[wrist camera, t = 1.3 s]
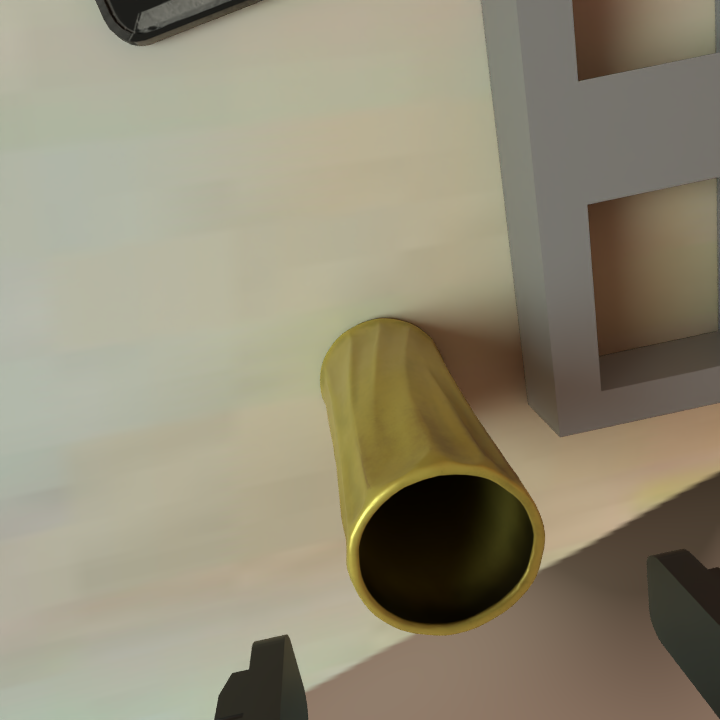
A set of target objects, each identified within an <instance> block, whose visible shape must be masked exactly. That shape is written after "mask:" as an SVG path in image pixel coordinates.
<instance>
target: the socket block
mask: <svg viewBox="0 0 720 720" xmlns="http://www.w3.org/2000/svg"><path fill="white" fill-rule="evenodd" d="M481 4H482V13H483V21H484V30H485V38H486V47H487V56H488V64H489V73H490V81H491V90H492V98H493V107H494V116H495V124H496V133H497V141H498V150H499V158H500V167H501V176H502V184H503V193H504V201H505V210H506V219H507V227H508V236H509V244H510V253H511V261H512V270H513V279H514V287H515V296H516V304H517V313H518V322H519V330H520V339H521V347H522V356H523V364H524V373H525V382H526V390H527V399H528V405H529V406H530V407H531V408H532V409H533V410H534V411H535V412H536V413H537V414H538V415H539V416H540V417H541V418H542V419H543V420H544V421H545V422H546V423H547V424H548V425H549V426H550V427H551V428H552V429H553V430H554V431H555V433H556V434H557V435H558V436H559V437H564V436H568V435H573V434H577V433H582V432H587V431H591V430H596V429H601V428H605V427H610V426H614V425H619V424H624V423H628V422H633V421H638V420H642V419H647V418H651V417H656V416H661V415H665V414H670V413H675V412H679V411H684V410H688V409H693V408H698V407H702V406H707V405H712V404H716V403H720V0H715V12H716V53H714V54H709V55H704V56H699V57H694V58H690V59H685V60H680V61H675V62H670V63H665V64H660V65H655V66H650V67H646V68H641V69H636V70H631V71H626V72H621V73H616V74H611V75H606V76H602V77H597V78H592V79H587V80H582V81H578V74H577V61H576V47H575V34H574V20H573V7H572V0H481ZM713 178H717V233H718V331H716V332H711V333H706V334H702V335H697V336H692V337H688V338H683V339H678V340H674V341H669V342H664V343H660V344H655V345H650V346H646V347H641V348H636V349H632V350H627V351H622V352H618V353H613V354H608V355H604V356H599V355H598V341H597V328H596V314H595V301H594V288H593V274H592V261H591V248H590V234H589V221H588V208H587V205H588V204H593V203H598V202H602V201H607V200H612V199H617V198H622V197H626V196H631V195H636V194H641V193H645V192H650V191H655V190H660V189H665V188H669V187H674V186H679V185H684V184H689V183H693V182H698V181H703V180H708V179H713Z"/></svg>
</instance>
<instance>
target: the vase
mask: <svg viewBox="0 0 720 720" xmlns="http://www.w3.org/2000/svg"><path fill="white" fill-rule="evenodd" d="M320 387H321V393H322V397H323V400H324V402H325V404H326V408H327V415H328V421H329V427H330V432H331V437H332V442H333V447H334V455H335V460H336V465H337V476H338V487H339V497H340V508H341V517H342V523H343V528H344V533H345V537H346V546H347V558H346V564H347V570H348V573H349V576H350V579H351V581H352V583H353V585H354V587H355V589H356V591H357V593H358V595H359V597H360V598H361V600H362V601H363V603H364V604H365V605H366V606H367V608H368V609H369V610H370V611H371V612H372V613H373V614H374V615H375V616H377V617H378V618H379V619H381V620H382V621H384V622H386V623H388V624H389V625H391V626H393V627H395V628H398V629H400V630H403V631H407V632H411V633H416V634H426V635H452V634H457V633H461V632H465V631H468V630H471V629H474V628H477V627H479V626H481V625H483V624H485V623H487V622H489V621H490V620H492V619H494V618H496V617H497V616H499V615H500V614H502V613H503V612H505V611H507V610H508V609H509V608H510V607H512V606H513V605H514V604H515V603H516V602H517V601H518V600H519V599H520V598H521V597H522V595H523V594H525V592H526V591H527V590H528V589H529V587H530V585H531V584H532V583H533V581H534V579H535V578H536V576H537V573H538V570H539V567H540V563H541V559H542V555H543V550H544V544H545V531H544V525H543V522H542V519H541V516H540V513H539V511H538V509H537V507H536V504H535V503H534V501H533V499H532V498H531V496H530V495H529V493H528V492H527V490H526V489H525V487H524V486H523V484H522V483H521V481H520V479H519V477H518V476H517V474H516V473H515V472H514V470H513V469H512V468H511V466H510V465H509V464H508V462H507V461H506V459H505V458H504V456H503V455H502V453H501V452H500V450H499V449H498V447H497V446H496V444H495V443H494V442H493V440H492V439H491V437H490V436H489V434H488V433H487V432H486V430H485V428H484V427H483V426H482V424H481V423H480V421H479V420H478V418H477V417H476V415H475V414H474V412H473V411H472V409H471V408H470V406H469V404H468V403H467V401H466V400H465V398H464V396H463V395H462V393H461V391H460V390H459V388H458V386H457V385H456V383H455V381H454V380H453V378H452V376H451V375H450V373H449V371H448V369H447V368H446V366H445V364H444V361H443V359H442V356H441V354H440V353H439V351H438V349H437V347H436V345H435V343H434V342H433V340H432V338H431V337H429V336H428V335H427V334H426V333H425V332H423V331H422V330H421V329H419V328H418V327H416V326H414V325H413V324H411V323H408V322H405V321H401V320H396V319H389V318H379V319H373V320H369V321H366V322H363V323H361V324H358V325H356V326H355V327H353V328H351V329H349V330H347V331H346V332H344V333H343V334H342V335H341V336H340V337H339V338H338V339H337V340H336V341H335V342H334V343H333V345H332V346H331V348H330V349H329V351H328V352H327V354H326V356H325V358H324V360H323V364H322V367H321V374H320Z"/></svg>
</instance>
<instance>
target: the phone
mask: <svg viewBox="0 0 720 720" xmlns="http://www.w3.org/2000/svg"><path fill="white" fill-rule="evenodd" d="M95 1H96V3H97V5H98V7H99V10H100V12H101V14H102V16H103V19H104V20H105V22H106V24H107V25H108V27H109V29H110V30H111V31H113V32H114V33H115V34H116V35H117V36H118V37H119V38H121V39H122V40H123V41H125V42H127V43H129V44H131V45H137V46H145V45H150V44H153V43H155V42H158V41H160V40H163V39H165V38H168V37H170V36H173V35H176V34H178V33H181V32H183V31H186V30H188V29H191V28H193V27H196V26H199V25H201V24H204V23H206V22H209V21H211V20H214V19H216V18H219V17H221V16H224V15H227V14H229V13H232V12H234V11H237V10H239V9H242V8H244V7H247V6H250V5H252V4H255V3H257V2H260V1H262V0H95Z"/></svg>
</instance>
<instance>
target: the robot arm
mask: <svg viewBox="0 0 720 720" xmlns="http://www.w3.org/2000/svg"><path fill="white" fill-rule="evenodd" d="M647 578H648V593H649V610H650V617H651V621H652V624H653V627H654V629H655V631H656V634H657V636H658V638H659V640H660V641H661V643H662V644H663V646H664V647H665V648H666V650H667V651H668V652H669V653H670V655H671V656H672V657H673V658H674V660H675V661H676V663H677V664H678V665H679V666H680V668H681V669H682V670H683V672H684V673H685V674H686V676H687V677H688V678H689V680H690V681H691V682H692V683H693V685H694V686H695V687H696V689H697V690H698V691H699V692H700V694H701V695H702V697H703V698H704V699H705V700H706V702H707V703H708V704H709V706H710V707H711V708H712V709H713V711H714V712H715V714H716V715H717V716H718V717H719V719H720V568H718V567H717V568H712V569H707V568H705V567H704V566H703V565H702V564H701V563H700V562H699V561H698V560H697V559H696V558H695V557H694V556H693V555H692V554H691V553H690V552H689V551H687V550H686V549H678V550H674V551H669V552H665V553H660V554H656V555H651V556H649V557H648V559H647ZM214 720H308V710H307V701H306V695H305V690H304V686H303V683H302V679H301V676H300V672H299V669H298V665H297V662H296V658H295V655H294V651H293V648H292V644H291V641H290V638H289V636H288V635H282V636H278V637H273V638H269V639H264V640H260V641H255V642H254V643H253V645H252V651H251V659H250V667H249V670H245V671H240V672H235V673H232V674H231V676H230V678H229V679H228V681H227V683H226V684H225V686H224V688H223V689H222V691H221V693H220V694H219V697H218V702H217V708H216V713H215V719H214Z"/></svg>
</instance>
